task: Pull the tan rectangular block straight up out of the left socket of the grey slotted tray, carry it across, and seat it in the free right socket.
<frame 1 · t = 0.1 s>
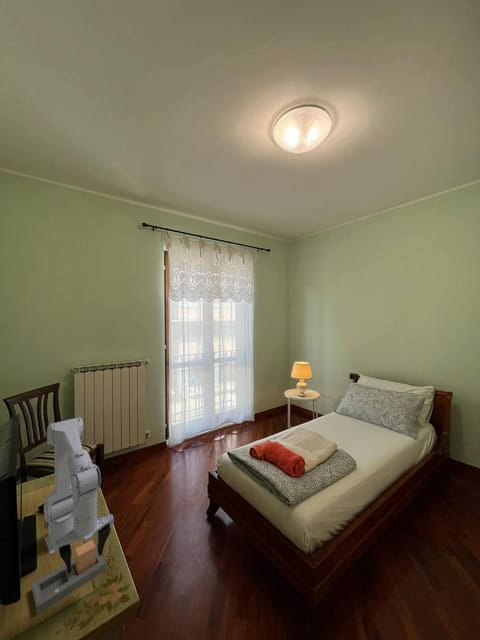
hand: (84, 561, 72), 10 cm above the table, tool pointing down, fingers open, 7 cm apart
tan rectangular block: (85, 570, 79), resting on grey slotted tray
grey slotted tray: (70, 581, 76), on the table
smartphone: (57, 513, 104), on the table
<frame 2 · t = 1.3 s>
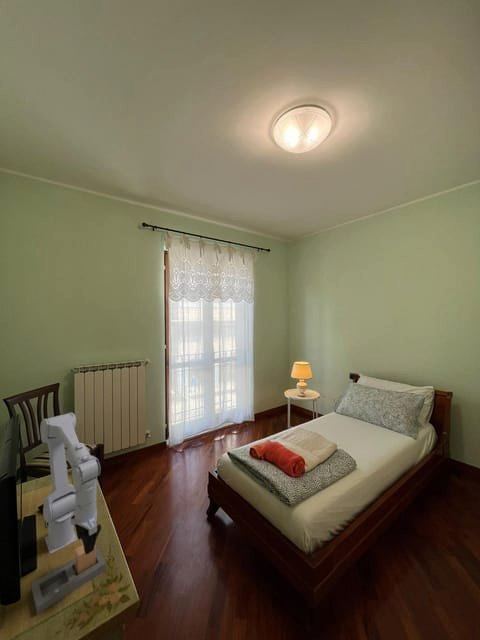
hand: (85, 544, 79), 9 cm above the table, tool pointing down, fingers open, 7 cm apart
nothing on the table moved.
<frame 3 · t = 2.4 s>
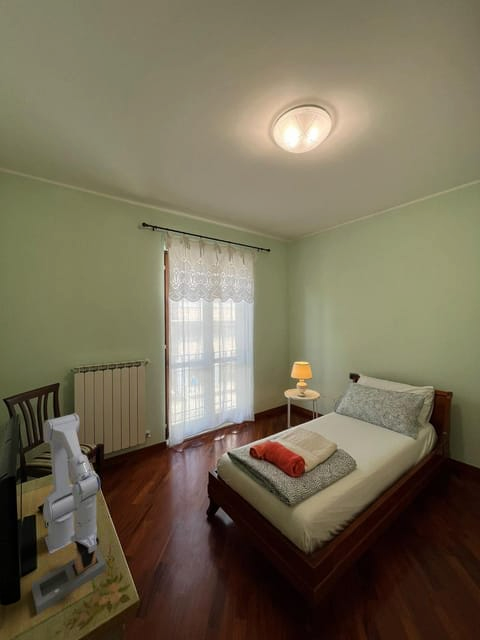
hand: (85, 560, 79), 3 cm above the table, tool pointing down, fingers closed on tan rectangular block, 4 cm apart
tan rectangular block: (85, 570, 79), resting on grey slotted tray, touching gripper
everything else where it was.
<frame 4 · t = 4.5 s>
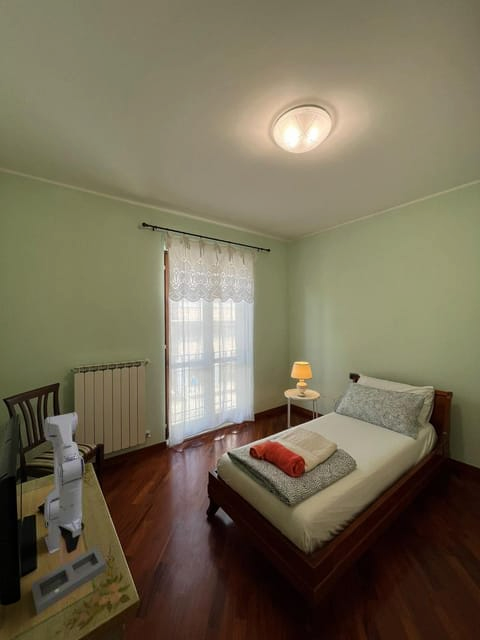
hand: (69, 546, 76), 10 cm above the table, tool pointing down, fingers closed on tan rectangular block, 4 cm apart
tan rectangular block: (70, 556, 76), point 7 cm above the table, touching gripper
everything else where it was.
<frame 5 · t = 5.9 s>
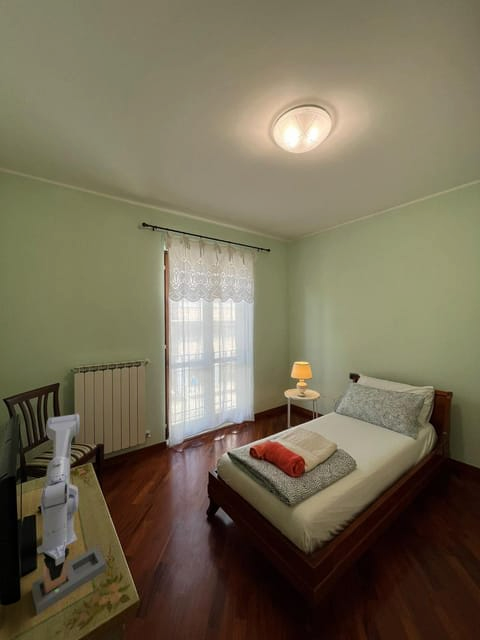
hand: (54, 573, 73), 5 cm above the table, tool pointing down, fingers closed on tan rectangular block, 4 cm apart
tan rectangular block: (55, 582, 73), point 2 cm above the table, touching gripper
everything else where it was.
when the fingers open (4 cm above the table, at t = 6.7 s): tan rectangular block stays where it is, resting on grey slotted tray.
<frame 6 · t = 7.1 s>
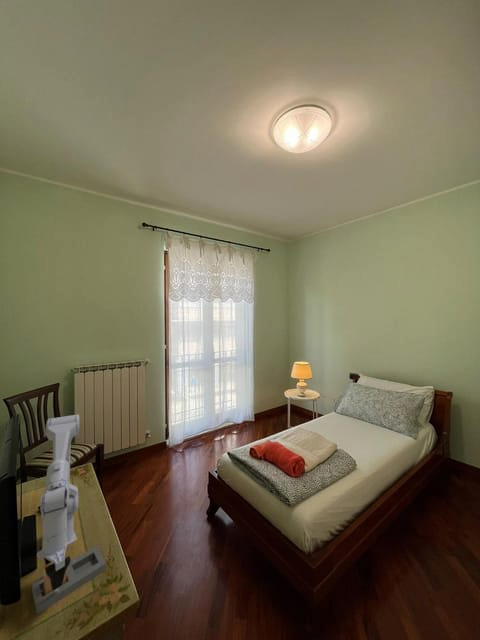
hand: (54, 577, 73), 4 cm above the table, tool pointing down, fingers open, 7 cm apart
tan rectangular block: (54, 589, 73), resting on grey slotted tray
everything else where it was.
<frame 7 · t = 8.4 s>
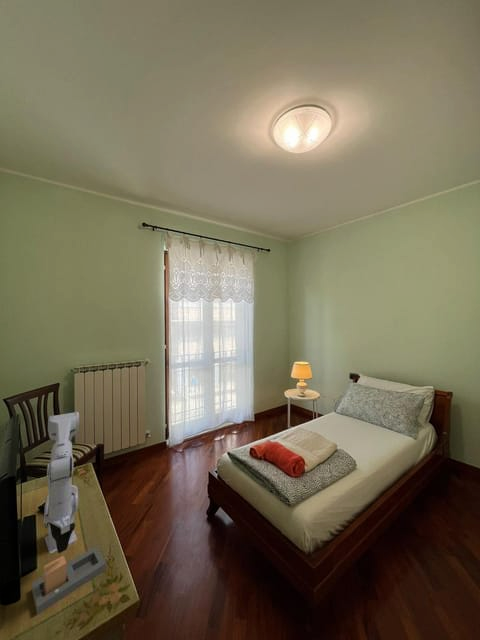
hand: (59, 543, 78), 10 cm above the table, tool pointing down, fingers open, 7 cm apart
nothing on the table moved.
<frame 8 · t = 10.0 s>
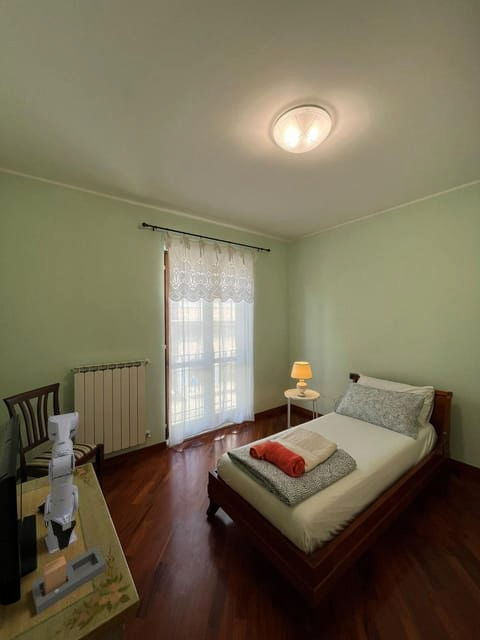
hand: (60, 540, 78), 10 cm above the table, tool pointing down, fingers open, 7 cm apart
nothing on the table moved.
at the end: tan rectangular block 0.2 cm from the target spot on the grey slotted tray, point 0.5 cm above the grey slotted tray's base; tan rectangular block tilted 0°; the gripper is holding nothing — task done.
